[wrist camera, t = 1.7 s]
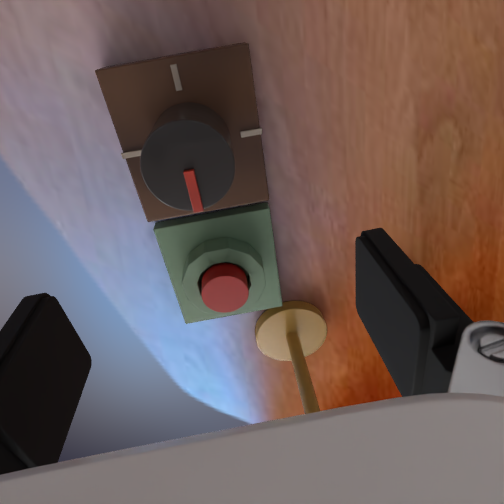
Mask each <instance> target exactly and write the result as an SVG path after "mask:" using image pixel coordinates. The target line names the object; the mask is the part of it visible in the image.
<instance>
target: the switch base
mask: <svg viewBox="0 0 504 504" xmlns="http://www.w3.org/2000/svg"><path fill="white" fill-rule="evenodd" d="M154 233H155V235H156V238H157V241H158V244H159V247H160V250H161V253H162V256H163V259H164V262H165V265H166V268H167V270H168V273H169V276H170V279H171V282H172V285H173V288H174V291H175V294H176V297H177V300H178V303H179V305H180V308H181V311H182V314H183V317H184V320H185V323H186V324H188V323H193V322H198V321H204V320H209V319H215V318H220V317H226V316H231V315H237V314H242V313H248V312H253V311H259V310H264V309H270V308H275V307H280V306H282V297H281V290H280V282H279V275H278V268H277V260H276V253H275V245H274V238H273V230H272V223H271V216H270V209H269V206H268V203H267V202H266V203H260V204H255V205H249V206H244V207H238V208H232V209H227V210H221V211H216V212H210V213H205V214H199V215H194V216H188V217H183V218H177V219H172V220H166V221H161V222H156V223H155V226H154ZM220 263H231V264H234V265H236V266H238V267H240V268H241V269H242V270H243V271H244V273H245V274H246V277H247V284H248V290H249V296H248V299H247V301H246V303H245V304H244V305H243V306H242V307H241V308H239V309H237V310H235V311H232V312H227V313H222V312H216V311H213V310H211V309H210V308H208V307H207V306H206V305H205V304H204V302H203V300H202V294H201V293H202V278H203V275H204V273H205V272H206V271H207V270H208V269H209V268H210V267H212V266H214V265H216V264H220Z"/></svg>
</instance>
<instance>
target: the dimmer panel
mask: <svg viewBox="0 0 504 504" xmlns="http://www.w3.org/2000/svg"><path fill="white" fill-rule="evenodd" d="M95 72H96V75H97V78H98V81H99V84H100V87H101V90H102V92H103V95H104V98H105V101H106V104H107V107H108V110H109V113H110V115H111V118H112V121H113V124H114V127H115V130H116V133H117V136H118V138H119V141H120V144H121V147H122V150H123V153H121V155H122V157H123V159H125V158H126V161H127V164H128V167H129V170H130V173H131V176H132V179H133V181H134V184H135V187H136V190H137V193H138V196H139V199H140V202H141V204H142V207H143V210H144V213H145V216H146V219H147V221H148V222H151V221H157V220H162V219H168V218H173V217H179V216H184V215H190V214H195V213H194V211H186V210H179V209H176V208H173V207H170V206H168V205H166V204H164V203H163V202H161V201H160V200H159V199H157V198H156V197H155V196H154V195H153V194H152V193H151V191H150V190H149V189H148V187H147V185H146V184H145V182H144V179H143V177H142V173H141V168H140V156H141V151H142V148H143V145H144V143H145V141H146V139H147V138H148V136H149V134H150V132H151V131H152V129H153V127H154V125H155V124H156V122H157V120H158V119H159V117H160V116H161V115H162V114H163V112H165V111H166V110H167V109H169V108H170V107H172V106H174V105H177V104H180V103H186V102H193V103H199V104H202V105H205V106H207V107H209V108H210V109H212V110H214V111H215V112H216V113H217V114H218V115H219V116H220V117H221V118H222V119H223V121H224V122H225V124H226V126H227V128H228V131H229V134H230V139H231V144H232V149H233V154H234V159H235V176H234V180H233V183H232V185H231V187H230V189H229V191H228V192H227V194H226V195H225V196H224V197H223V198H222V199H221V200H220V201H218V202H217V203H216V204H214V205H212V206H210V207H208V208H205V209H204V211H201V212H207V211H212V210H218V209H223V208H229V207H234V206H240V205H245V204H251V203H256V202H262V201H267V200H269V194H268V186H267V179H266V171H265V164H264V156H263V149H262V141H261V134H262V128H260V126H259V119H258V111H257V104H256V96H255V89H254V81H253V74H252V66H251V59H250V51H249V44H248V43H246V42H242V43H237V44H231V45H225V46H220V47H214V48H209V49H203V50H197V51H192V52H186V53H181V54H175V55H169V56H164V57H158V58H152V59H147V60H141V61H136V62H130V63H124V64H119V65H113V66H107V67H103V68H100V69H97V70H95ZM201 212H196V213H201Z"/></svg>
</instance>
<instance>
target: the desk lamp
mask: <svg viewBox="0 0 504 504" xmlns="http://www.w3.org/2000/svg"><path fill="white" fill-rule="evenodd" d="M255 335H256V342H257V345H258V347H259V349H260V350H261V352H262V353H264V354H265V355H266V356H268V357H270V358H272V359H276V360H281V361H291V360H292V364H293V368H294V372H295V376H296V380H297V384H298V388H299V392H300V396H301V400H302V404H303V408H304V412H305V414H309V413H314V412H319V411H320V409H319V405H318V402H317V398H316V395H315V391H314V388H313V385H312V381H311V378H310V374H309V371H308V367H307V364H306V360H305V357H306V356H308V355H310V354H312V353H313V352H315V351H316V350H317V349H318V348H319V347H320V346H321V345H322V344H323V342H324V340H325V338H326V335H327V325H326V322H325V320H324V317H323V315H322V313H321V312H320V310H319V309H318V308H316V307H315V306H313V305H312V304H310V303H307V302H303V301H286V302H282V306H280V307H275V308H270V309H268V310H266V311H265V312H264V313H263V314H262V315H261V316H260V318H259V319H258V321H257V323H256V327H255Z"/></svg>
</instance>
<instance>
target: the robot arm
mask: <svg viewBox="0 0 504 504" xmlns="http://www.w3.org/2000/svg"><path fill="white" fill-rule="evenodd" d="M356 308H357V312H358V314H359V316H360V318H361V320H362V322H363V324H364V326H365V328H366V329H367V331H368V333H369V335H370V337H371V339H372V341H373V343H374V344H375V346H376V348H377V350H378V352H379V354H380V356H381V357H382V359H383V361H384V363H385V365H386V367H387V369H388V371H389V372H390V374H391V376H392V378H393V380H394V382H395V384H396V386H397V387H398V389H399V391H400V393H401V395H402V397H399V398H393V399H387V400H381V401H375V402H369V403H364V404H358V405H352V406H346V407H341V408H335V409H330V410H324V411H319V412H314V413H309V414H303V415H298V416H293V417H288V418H282V419H277V420H272V421H266V422H261V423H256V424H251V425H245V426H241V427H236V428H230V429H225V430H220V431H215V432H209V433H204V434H199V435H194V436H189V437H184V438H179V439H174V440H169V441H163V442H159V443H153V444H148V445H143V446H138V447H133V448H128V449H123V450H118V451H113V452H108V453H103V454H99V455H93V456H88V457H83V458H78V459H73V460H69V461H63V462H59V463H58V460H59V457H60V454H61V451H62V448H63V445H64V442H65V440H66V437H67V434H68V431H69V428H70V425H71V422H72V419H73V417H74V414H75V411H76V408H77V405H78V403H79V400H80V397H81V394H82V391H83V388H84V385H85V383H86V380H87V377H88V374H89V371H90V368H91V356H90V354H89V353H88V351H87V349H86V348H85V346H84V344H83V343H82V341H81V339H80V337H79V336H78V334H77V333H76V331H75V329H74V327H73V326H72V324H71V322H70V321H69V319H68V318H67V316H66V314H65V312H64V310H63V309H62V307H61V305H60V304H59V302H58V300H57V299H56V298H55V297H54V296H50V295H49V294H47V293H42V294H36V295H31V296H27V297H24V298H23V299H22V301H21V302H20V304H19V305H18V306H17V308H16V309H15V311H14V312H13V313H12V315H11V316H10V318H9V319H8V321H7V322H6V324H5V325H4V327H3V328H2V329H1V331H0V504H504V323H502V322H496V321H479V322H475V323H474V322H473V321H472V320H471V319H470V318H469V317H468V316H467V315H466V314H465V313H464V312H463V310H462V309H461V308H460V307H459V306H458V305H457V304H456V303H455V302H454V301H453V300H452V298H451V297H450V296H449V295H448V294H447V293H446V292H445V291H444V290H443V289H442V288H441V286H440V285H439V284H438V283H437V282H436V281H435V280H434V279H433V278H432V277H431V276H430V274H429V273H428V272H427V271H426V270H425V269H424V268H423V267H422V266H421V265H419V264H414V263H413V262H412V261H411V260H410V259H409V258H408V256H407V255H406V254H405V253H404V252H403V251H402V250H401V249H400V248H399V246H398V245H397V244H396V243H395V242H394V241H393V240H392V239H391V237H390V236H389V235H388V234H387V233H386V232H385V231H384V230H383V229H382V228H377V229H372V230H367V231H363V232H362V233H361V236H360V237H357V238H356Z"/></svg>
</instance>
